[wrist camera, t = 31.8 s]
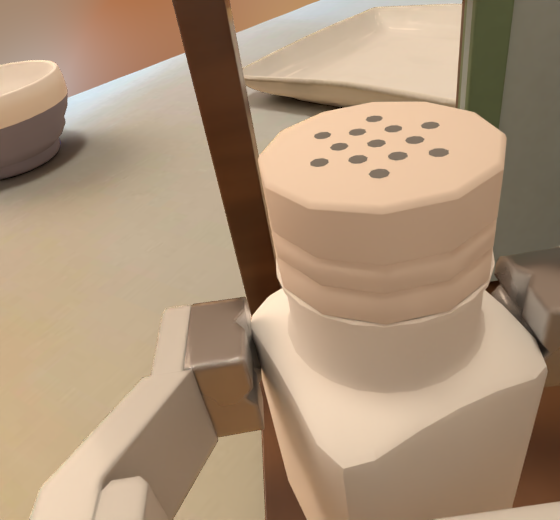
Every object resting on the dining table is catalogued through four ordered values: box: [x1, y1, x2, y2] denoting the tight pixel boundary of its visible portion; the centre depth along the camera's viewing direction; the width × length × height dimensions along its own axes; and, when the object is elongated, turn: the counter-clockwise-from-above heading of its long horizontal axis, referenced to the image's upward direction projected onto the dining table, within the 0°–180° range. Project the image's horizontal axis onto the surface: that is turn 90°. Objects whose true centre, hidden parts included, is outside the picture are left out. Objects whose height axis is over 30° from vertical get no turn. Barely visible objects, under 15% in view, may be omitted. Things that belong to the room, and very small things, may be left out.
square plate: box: [242, 4, 462, 108], centre depth 51 cm, size 27×27×4 cm
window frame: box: [172, 0, 560, 520], centre depth 16 cm, size 14×19×18 cm
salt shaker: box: [251, 102, 548, 520], centre depth 9 cm, size 4×4×10 cm
